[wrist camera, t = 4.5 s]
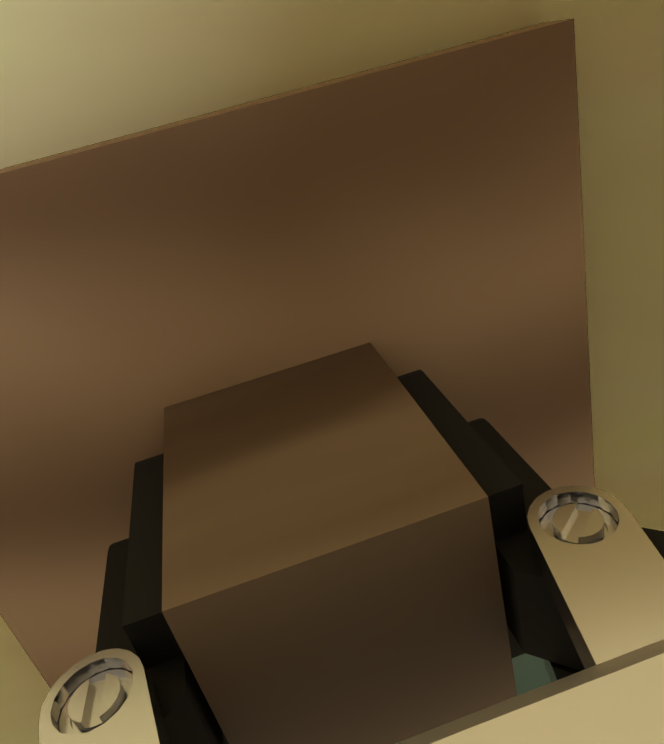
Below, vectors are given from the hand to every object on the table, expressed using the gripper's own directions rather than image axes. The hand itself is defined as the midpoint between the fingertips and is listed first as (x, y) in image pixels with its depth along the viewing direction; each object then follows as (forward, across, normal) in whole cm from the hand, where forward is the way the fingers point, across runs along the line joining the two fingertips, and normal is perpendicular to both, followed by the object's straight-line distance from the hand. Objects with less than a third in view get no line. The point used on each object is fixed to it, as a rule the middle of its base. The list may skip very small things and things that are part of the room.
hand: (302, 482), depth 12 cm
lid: (+2, 0, 0) cm, 2 cm away
